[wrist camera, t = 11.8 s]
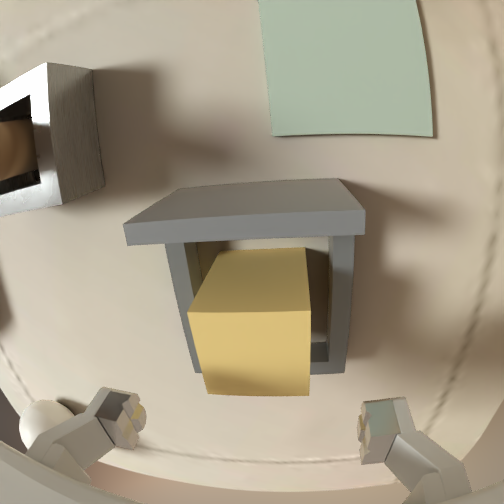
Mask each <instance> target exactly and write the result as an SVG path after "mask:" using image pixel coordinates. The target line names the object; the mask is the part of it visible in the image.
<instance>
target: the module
mask: <svg viewBox="0 0 504 504" xmlns="http://www.w3.org/2000/svg"><path fill="white" fill-rule="evenodd" d="M187 315H188V319H189V323H190V327H191V331H192V335H193V340H194V344H195V348H196V351H197V355H198V359H199V363H200V367H201V371H202V374H203V378H204V382H205V385H206V389H207V392H208V394H218V395H238V396H309V386H310V346H311V307H310V295H309V284H308V273H307V263H306V253H305V247H301V248H277V249H254V250H232V251H220V252H219V254H218V255H217V257H216V259H215V261H214V263H213V265H212V266H211V268H210V270H209V272H208V274H207V276H206V278H205V279H204V281H203V283H202V285H201V287H200V289H199V291H198V293H197V294H196V296H195V298H194V300H193V302H192V304H191V306H190V308H189V309H188V311H187Z"/></svg>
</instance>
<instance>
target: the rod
mask: <svg viewBox="0 0 504 504" xmlns="http://www.w3.org/2000/svg"><path fill="white" fill-rule="evenodd" d="M37 169H39V168H38V162H37V155H36V147H35V139H34V130H33V120H32V119H23V120H14V121H6V122H0V181H1V180H4V179H7V178H11V177H14V176H17V175H20V174H23V173H27V172H30V171H33V170H37Z"/></svg>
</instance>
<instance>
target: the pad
mask: <svg viewBox="0 0 504 504" xmlns="http://www.w3.org/2000/svg"><path fill="white" fill-rule="evenodd" d="M258 3H259V12H260V20H261V29H262V37H263V46H264V56H265V65H266V75H267V85H268V95H269V106H270V116H271V128H272V136H287V135H308V134H395V135H415V136H430V137H433V127H432V108H431V95H430V84H429V75H428V66H427V59H426V52H425V45H424V39H423V34H422V28H421V23H420V18H419V13H418V9H417V4H416V0H258Z"/></svg>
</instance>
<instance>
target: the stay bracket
mask: <svg viewBox="0 0 504 504" xmlns="http://www.w3.org/2000/svg"><path fill="white" fill-rule="evenodd" d="M31 113H32V120H33V130H34V139H35V147H36V155H37V162H38V168H39V174H40V181H37V182H36V178H35V173H34V170H33V171H30V172H27V173H23V174H20V175H17V176H14V177H11V178H7V179H4V180H1V181H0V217H2V216H7V215H11V214H16V213H21V212H26V211H30V210H35V209H41V208H46V207H51V206H57V205H62V204H65V203H67V202H69V201H71V200H74V199H76V198H78V197H80V196H83V195H85V194H87V193H90V192H92V191H95V190H97V189H99V188H102V187H104V186H105V181H104V175H103V169H102V162H101V156H100V149H99V141H98V133H97V124H96V115H95V104H94V92H93V76H92V69H88V68H82V67H76V66H70V65H63V64H56V63H48V62H46V63H44V64H42V65H40V66H39V67H37V68H35V69H33V70H31V71H30V72H28V73H26V74H24V75H23V76H21V77H19V78H17V79H16V80H14V81H12V82H11V83H9V84H8V85H6V86H4V87H3V88H1V89H0V122H6V121H14V120H23V119H28V116H27V115H29V114H31Z"/></svg>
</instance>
